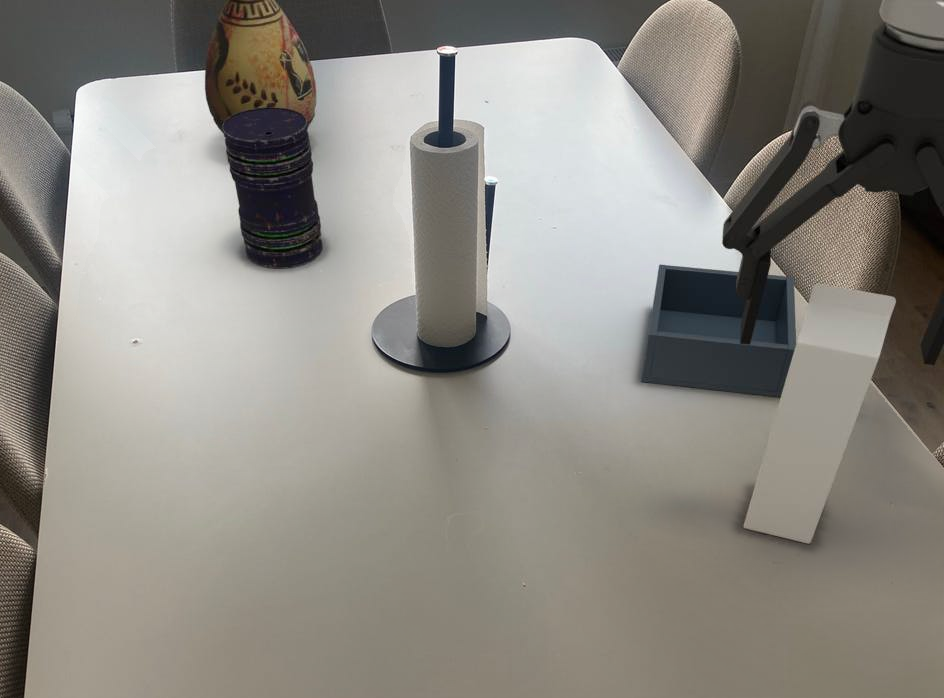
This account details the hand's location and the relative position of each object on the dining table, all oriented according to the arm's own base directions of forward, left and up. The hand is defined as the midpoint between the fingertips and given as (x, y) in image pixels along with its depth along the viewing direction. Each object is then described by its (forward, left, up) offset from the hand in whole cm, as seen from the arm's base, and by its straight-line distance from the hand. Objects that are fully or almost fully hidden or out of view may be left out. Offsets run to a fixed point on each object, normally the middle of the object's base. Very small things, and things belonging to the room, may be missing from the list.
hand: (834, 345), depth 73 cm
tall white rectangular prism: (0, 0, -18) cm, 18 cm away
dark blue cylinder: (+61, -39, -18) cm, 74 cm away
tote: (+7, -26, -18) cm, 32 cm away
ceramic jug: (+73, -68, -18) cm, 101 cm away
